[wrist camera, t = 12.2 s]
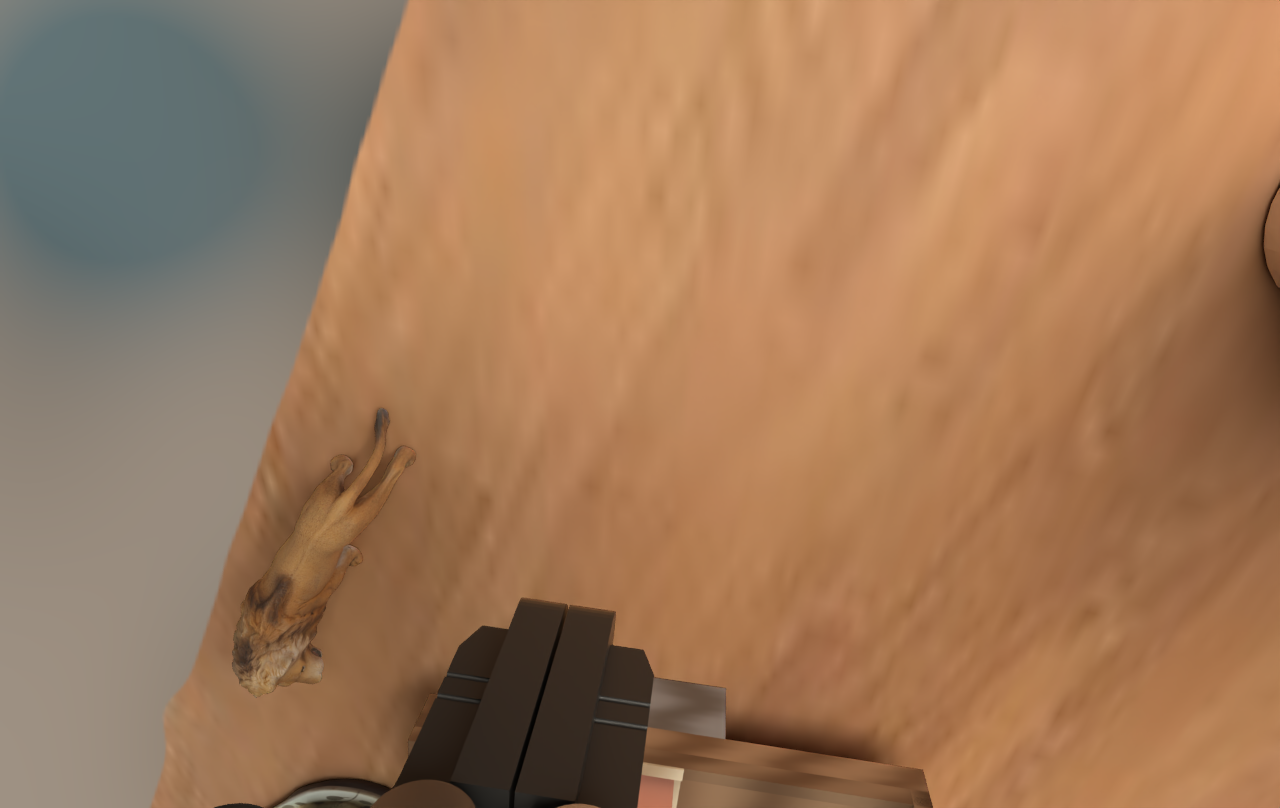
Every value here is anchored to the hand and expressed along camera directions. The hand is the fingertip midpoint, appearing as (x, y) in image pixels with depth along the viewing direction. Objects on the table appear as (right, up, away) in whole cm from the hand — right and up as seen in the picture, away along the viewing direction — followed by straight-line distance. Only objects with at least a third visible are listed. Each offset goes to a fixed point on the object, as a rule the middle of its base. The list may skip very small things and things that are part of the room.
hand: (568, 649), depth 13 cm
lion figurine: (-15, -3, +35) cm, 38 cm away
